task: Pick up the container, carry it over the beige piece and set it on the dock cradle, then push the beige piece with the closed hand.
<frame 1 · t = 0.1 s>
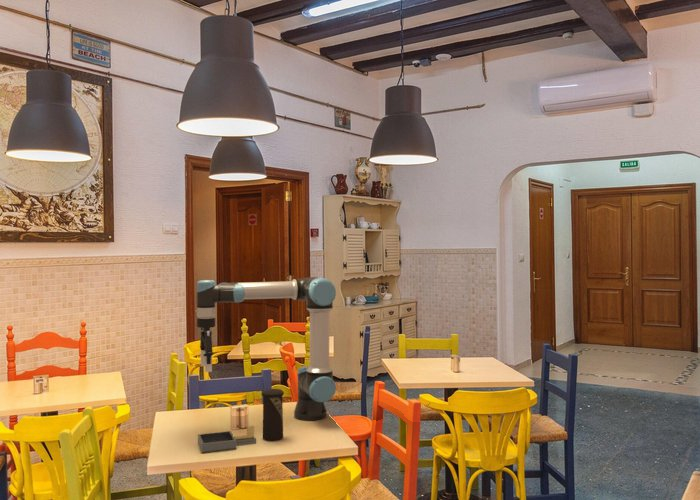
hand: (206, 368, 255), 28 cm above the table, fingers open, 13 cm apart
pin rail: (244, 443, 246), on the table
container: (272, 438, 252), on the table
beige piece: (244, 433, 246), point 4 cm above the table, slide at 0.0 cm
dock cradle: (216, 446, 242), on the table
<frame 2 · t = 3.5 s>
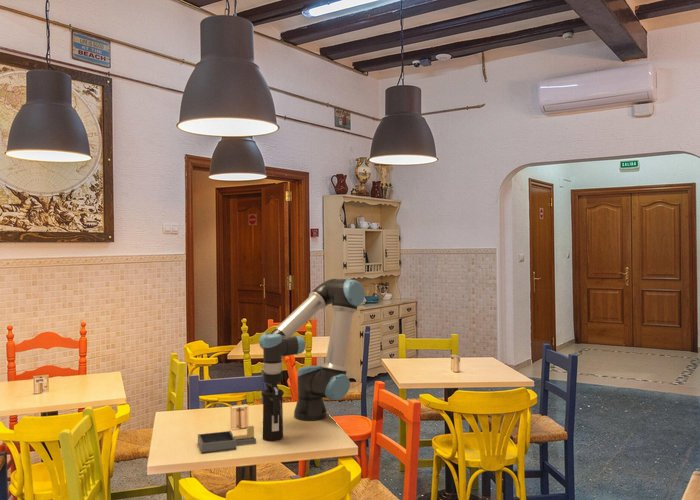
hand: (272, 427, 252), 4 cm above the table, fingers closed on container, 8 cm apart
container: (272, 438, 252), on the table, touching gripper
everything else where it was.
when the fingers open (6 cm above the table, at t = 9.2 s): container drops 1 cm, resting on dock cradle.
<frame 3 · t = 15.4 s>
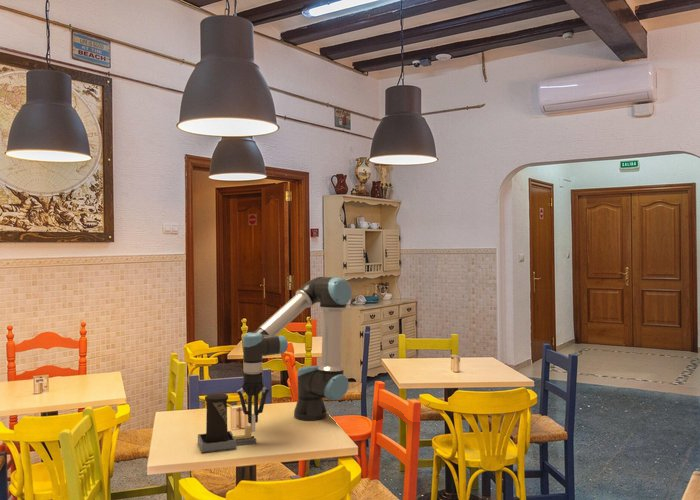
hand: (252, 430, 247), 5 cm above the table, fingers closed
container: (216, 445, 242), resting on dock cradle
beige piece: (241, 433, 245), point 4 cm above the table, slide at 1.0 cm, touching gripper
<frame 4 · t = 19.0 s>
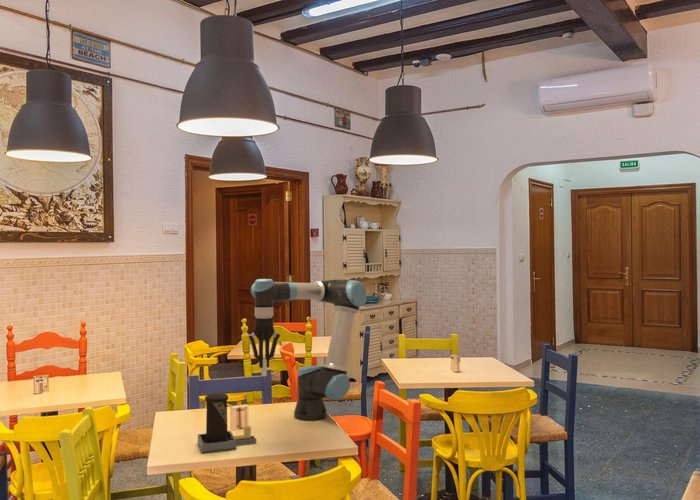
hand: (264, 375, 248), 26 cm above the table, fingers closed
beige piece: (240, 434, 245), point 4 cm above the table, slide at 1.3 cm
everything else where it was.
at the end: container 0.0 cm off-centre on the dock cradle, point 0.4 cm above the dock cradle's base; container tilted 0°; beige piece slide at 1.3 cm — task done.
